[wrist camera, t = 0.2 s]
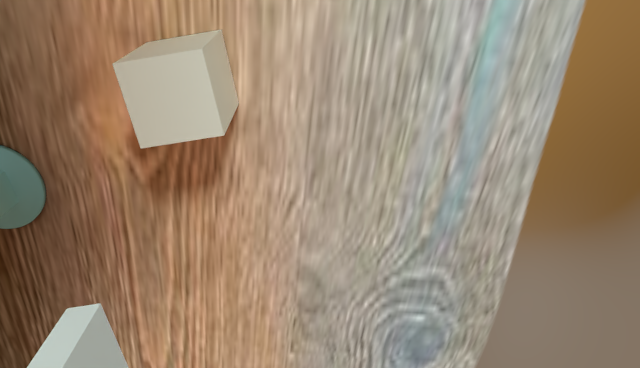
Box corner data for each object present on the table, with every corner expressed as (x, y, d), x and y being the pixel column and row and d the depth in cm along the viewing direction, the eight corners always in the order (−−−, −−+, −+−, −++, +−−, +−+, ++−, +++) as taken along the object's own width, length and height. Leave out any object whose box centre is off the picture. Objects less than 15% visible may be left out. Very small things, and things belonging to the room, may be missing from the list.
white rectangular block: (146, 42, 35) (112, 63, 29) (221, 29, 35) (202, 48, 29) (168, 114, 37) (140, 148, 32) (239, 103, 37) (224, 135, 31)
